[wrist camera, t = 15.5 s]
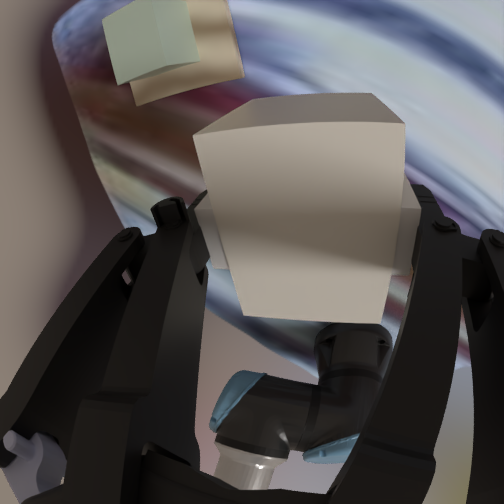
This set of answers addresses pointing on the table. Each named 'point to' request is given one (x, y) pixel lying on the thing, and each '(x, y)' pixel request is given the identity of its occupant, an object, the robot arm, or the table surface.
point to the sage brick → (149, 39)
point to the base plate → (210, 53)
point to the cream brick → (307, 203)
